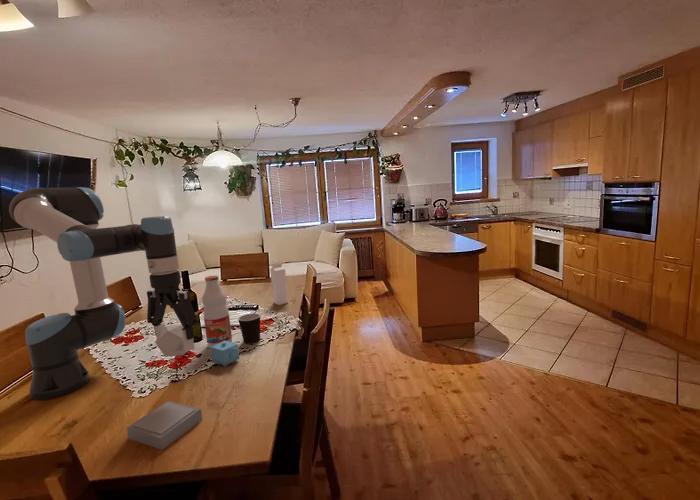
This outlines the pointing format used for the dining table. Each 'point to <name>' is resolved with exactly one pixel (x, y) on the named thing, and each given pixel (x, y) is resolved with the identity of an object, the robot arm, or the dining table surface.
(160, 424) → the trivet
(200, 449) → the dining table surface
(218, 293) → the fruit juice
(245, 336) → the black cup
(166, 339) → the die
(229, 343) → the blue spouted cube
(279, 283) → the milk
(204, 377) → the dining table surface
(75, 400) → the dining table surface
